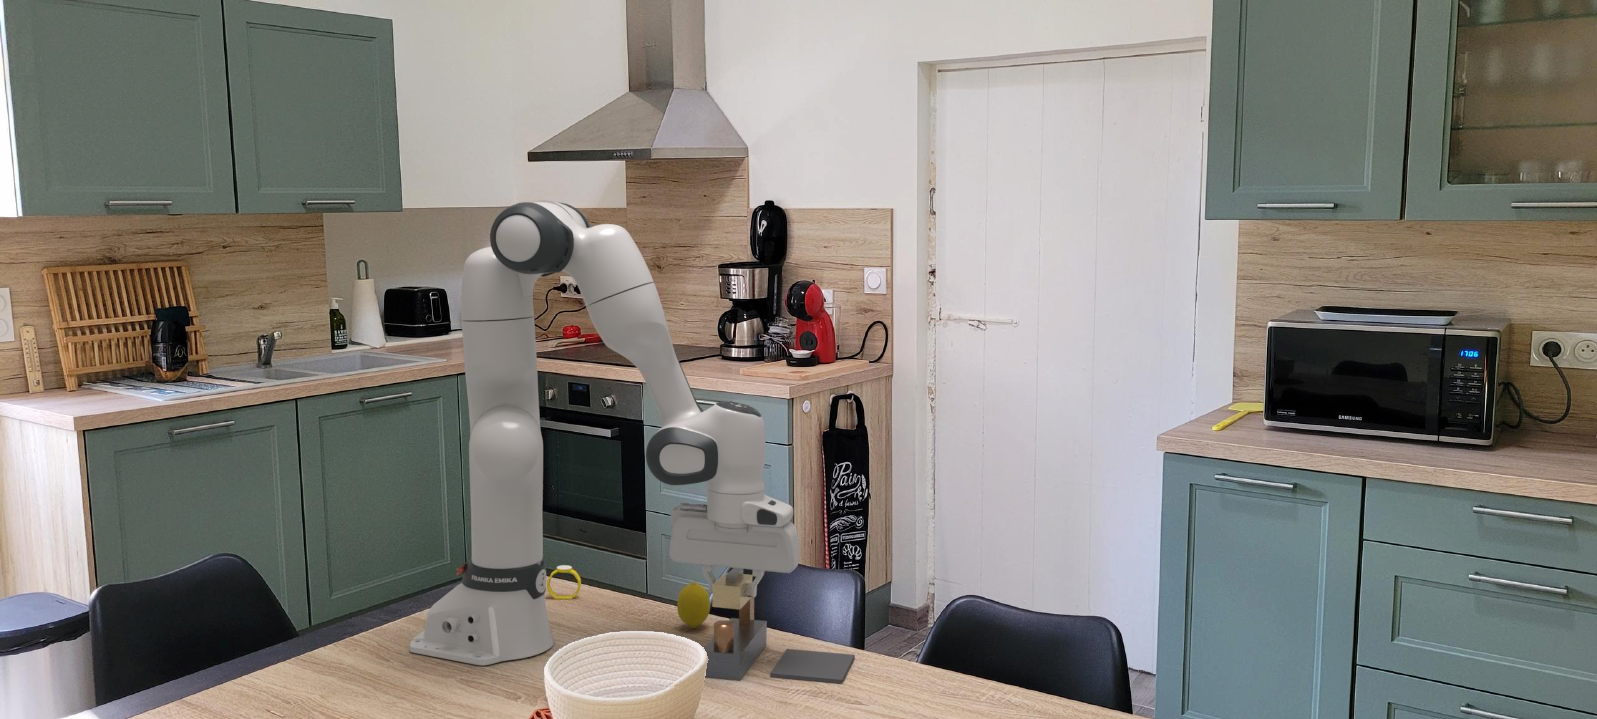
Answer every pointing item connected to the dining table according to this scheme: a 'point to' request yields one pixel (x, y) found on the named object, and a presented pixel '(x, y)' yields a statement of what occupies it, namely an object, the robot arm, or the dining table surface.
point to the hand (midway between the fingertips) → (732, 594)
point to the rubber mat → (813, 666)
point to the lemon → (693, 604)
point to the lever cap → (731, 589)
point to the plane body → (736, 644)
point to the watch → (564, 570)
